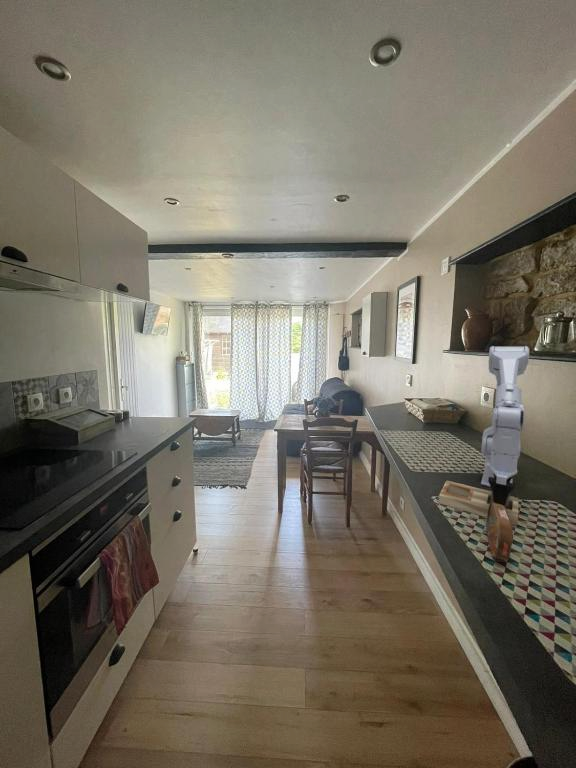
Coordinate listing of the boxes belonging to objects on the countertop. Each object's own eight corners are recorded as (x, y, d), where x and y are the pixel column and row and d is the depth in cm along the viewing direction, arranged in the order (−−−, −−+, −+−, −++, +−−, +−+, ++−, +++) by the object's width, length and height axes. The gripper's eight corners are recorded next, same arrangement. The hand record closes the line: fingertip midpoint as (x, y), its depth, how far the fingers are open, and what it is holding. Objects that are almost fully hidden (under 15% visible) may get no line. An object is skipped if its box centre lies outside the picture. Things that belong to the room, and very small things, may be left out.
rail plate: (446, 487, 95) (446, 479, 95) (517, 506, 84) (518, 497, 84) (438, 503, 86) (439, 494, 86) (517, 526, 76) (518, 516, 75)
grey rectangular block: (490, 505, 85) (492, 482, 84) (508, 509, 83) (510, 486, 82) (489, 511, 82) (491, 487, 81) (507, 516, 80) (510, 492, 78)
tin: (485, 525, 76) (487, 494, 75) (500, 529, 75) (503, 497, 73) (493, 565, 63) (497, 529, 62) (511, 571, 61) (516, 533, 60)
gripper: (488, 440, 88) (485, 484, 90) (484, 456, 76) (479, 506, 79) (519, 445, 84) (514, 491, 86) (518, 463, 72) (513, 515, 74)
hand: (500, 499), depth 82 cm, fingers open, 7 cm apart
